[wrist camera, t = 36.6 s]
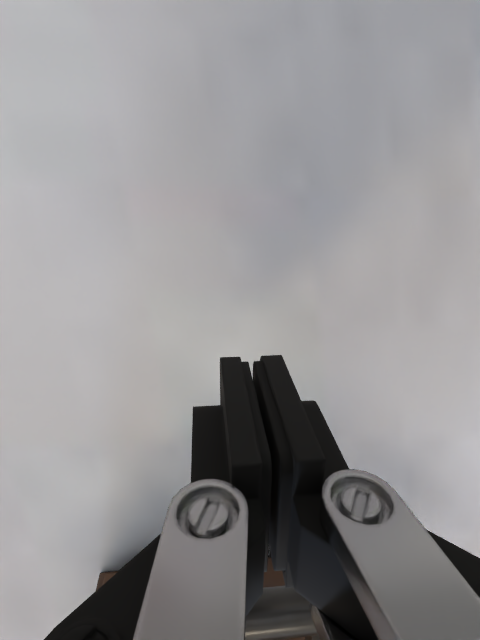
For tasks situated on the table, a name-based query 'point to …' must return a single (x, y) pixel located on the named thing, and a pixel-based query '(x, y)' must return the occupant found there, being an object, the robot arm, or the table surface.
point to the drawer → (277, 611)
